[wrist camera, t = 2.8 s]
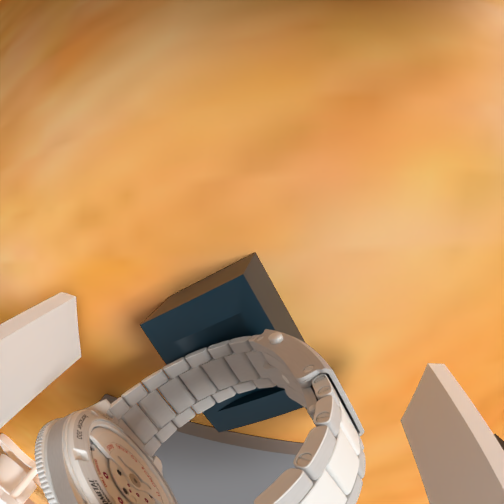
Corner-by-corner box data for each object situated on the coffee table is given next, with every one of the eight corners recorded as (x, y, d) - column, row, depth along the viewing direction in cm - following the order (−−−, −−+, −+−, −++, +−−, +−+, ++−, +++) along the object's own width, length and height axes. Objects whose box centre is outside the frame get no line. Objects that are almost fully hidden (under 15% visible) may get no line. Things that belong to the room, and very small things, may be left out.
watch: (139, 311, 14) (-31, 468, 3) (294, 231, 12) (291, 494, 2) (201, 401, 15) (117, 585, 4) (350, 344, 13) (406, 589, 2)
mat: (105, 393, 16) (97, 403, 15) (308, 443, 14) (308, 456, 13) (126, 490, 18) (122, 498, 17) (268, 526, 17) (267, 535, 16)
